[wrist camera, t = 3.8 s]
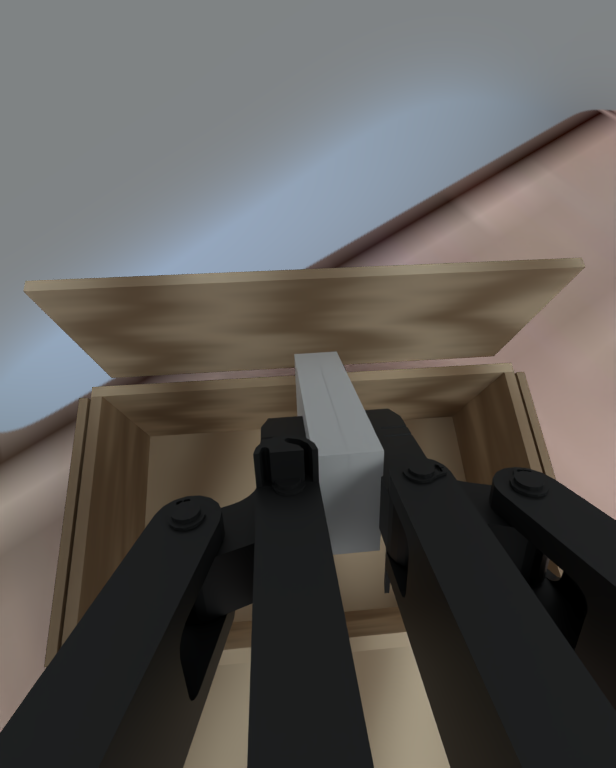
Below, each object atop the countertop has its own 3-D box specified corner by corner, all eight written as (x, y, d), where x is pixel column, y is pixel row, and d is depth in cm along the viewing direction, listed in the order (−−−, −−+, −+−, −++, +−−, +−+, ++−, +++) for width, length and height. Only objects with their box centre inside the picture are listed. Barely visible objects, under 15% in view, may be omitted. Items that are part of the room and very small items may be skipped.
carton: (463, 410, 29) (522, 362, 22) (541, 754, 22) (668, 855, 15) (136, 432, 28) (79, 387, 20) (108, 806, 21) (5, 947, 13)
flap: (491, 347, 22) (580, 256, 15) (493, 356, 21) (584, 267, 15) (112, 368, 20) (26, 279, 14) (111, 377, 20) (23, 291, 14)
